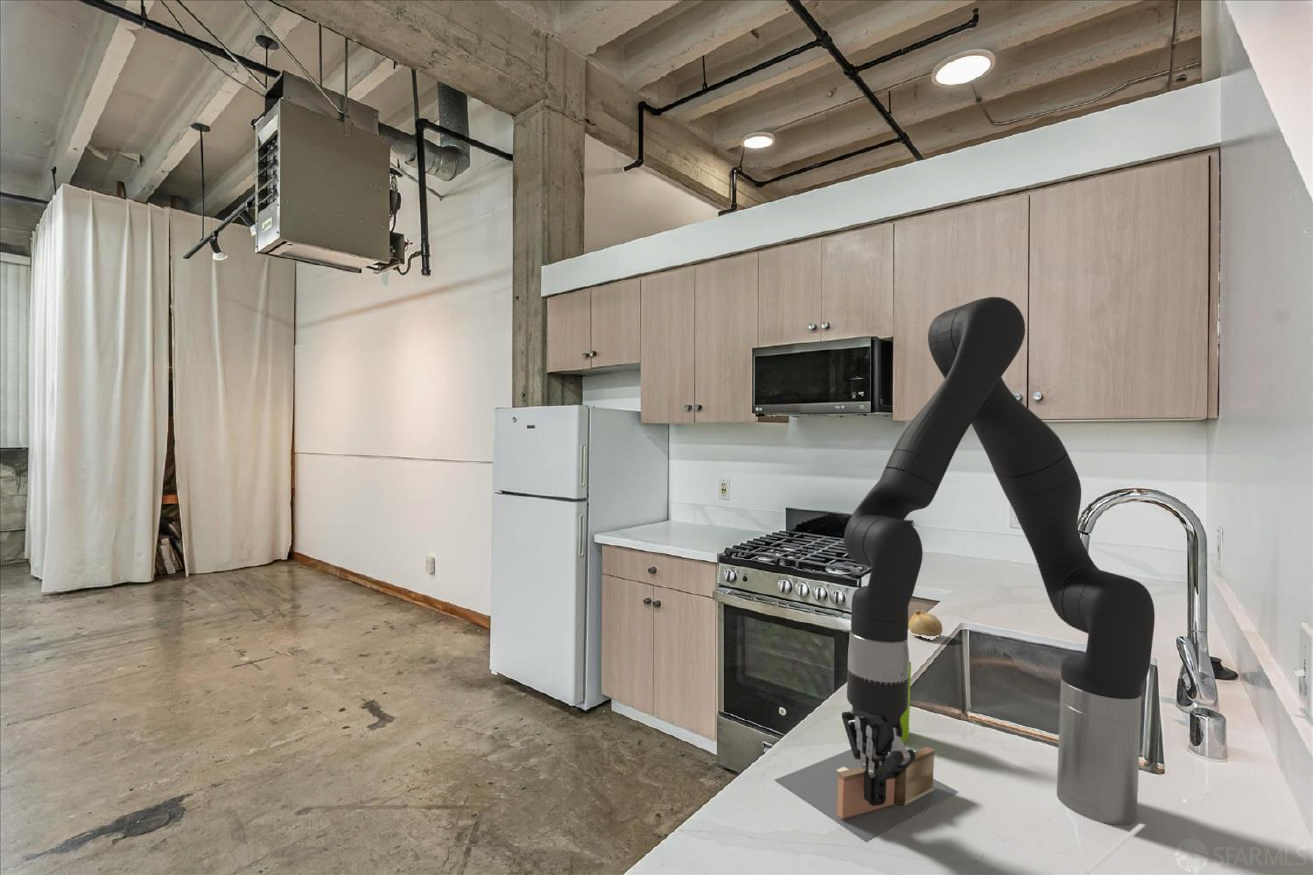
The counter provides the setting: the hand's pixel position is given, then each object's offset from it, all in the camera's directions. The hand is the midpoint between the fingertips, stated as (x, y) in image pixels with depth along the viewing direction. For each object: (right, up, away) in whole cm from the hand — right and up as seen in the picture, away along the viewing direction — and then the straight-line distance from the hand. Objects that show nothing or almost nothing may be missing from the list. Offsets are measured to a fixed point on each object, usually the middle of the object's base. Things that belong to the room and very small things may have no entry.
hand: (874, 801), depth 80 cm
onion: (+41, -5, +80) cm, 90 cm away
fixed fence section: (+8, -3, +7) cm, 11 cm away
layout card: (+2, -4, +9) cm, 10 cm away
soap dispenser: (+12, -4, +26) cm, 29 cm away
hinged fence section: (0, -3, +3) cm, 4 cm away
